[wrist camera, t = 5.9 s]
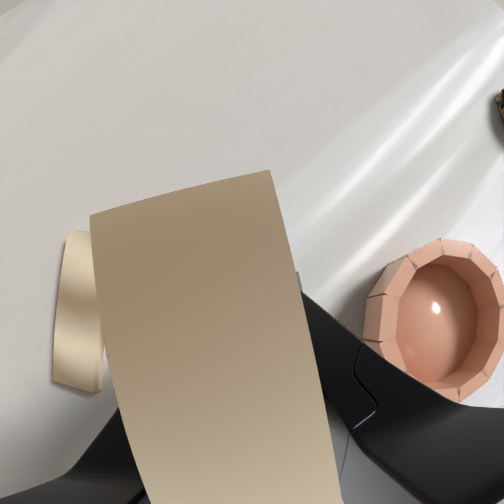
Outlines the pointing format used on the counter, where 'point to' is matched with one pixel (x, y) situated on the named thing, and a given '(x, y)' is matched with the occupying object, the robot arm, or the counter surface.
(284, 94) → the counter surface
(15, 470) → the counter surface
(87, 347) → the light wooden flat block
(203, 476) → the wooden pillar
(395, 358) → the bowl
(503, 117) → the bread roll
